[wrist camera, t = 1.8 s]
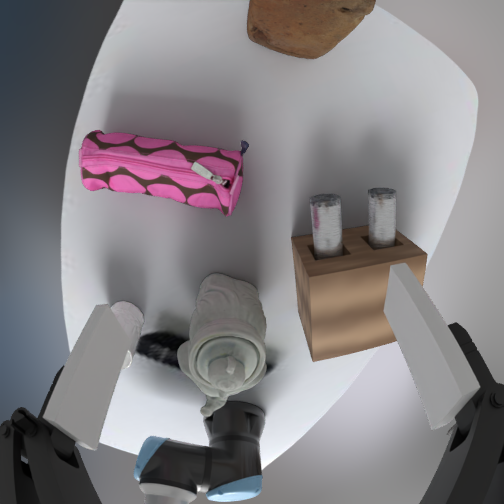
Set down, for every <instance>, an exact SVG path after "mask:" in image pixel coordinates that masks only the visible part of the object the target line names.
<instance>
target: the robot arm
mask: <svg viewBox="0 0 504 504" xmlns="http://www.w3.org/2000/svg"><path fill="white" fill-rule="evenodd" d="M384 313H385V315H386V318H387V320H388V322H389V324H390V326H391V328H392V331H393V333H394V335H395V337H396V339H397V342H398V344H399V346H400V348H401V351H402V353H403V355H404V358H405V360H406V362H407V365H408V367H409V370H410V372H411V375H412V377H413V380H414V382H415V385H416V388H417V390H418V393H419V395H420V398H421V401H422V404H423V406H424V409H425V412H426V415H427V418H428V421H429V424H430V427H431V430H435V429H437V428H439V427H442V426H444V425H446V424H448V423H449V422H450V421H451V420H452V419H453V418H454V417H455V419H456V422H457V423H456V424H455V425H454V426H453V427H452V428H451V429H450V430H449V431H448V433H447V435H449V434H450V433H451V432H452V435H451V438H450V440H449V443H448V445H447V448H446V451H445V453H444V455H443V458H442V460H441V462H440V465H439V467H438V469H437V471H436V473H435V475H434V477H433V479H432V481H431V484H430V485H429V487H428V489H427V491H426V493H425V495H424V497H423V499H422V500H421V502H420V504H504V385H503V384H500V383H499V384H498V383H496V382H495V380H494V379H493V377H492V375H491V373H490V371H489V369H488V367H487V365H486V364H485V362H484V360H483V358H482V356H481V354H480V353H479V351H477V347H476V346H475V344H474V343H473V342H472V339H471V338H470V336H469V334H468V332H467V331H466V330H465V329H464V328H463V327H462V326H461V325H459V324H458V323H453V324H450V325H447V324H446V322H445V321H444V320H443V317H442V316H441V314H440V313H439V311H438V309H437V308H436V306H435V305H434V304H433V302H432V300H431V299H430V297H429V296H428V294H427V293H426V291H425V290H424V288H423V287H422V285H421V284H420V282H419V281H418V279H417V278H416V277H415V275H414V274H413V272H412V271H411V270H410V268H409V267H408V265H407V264H406V263H401V264H395V265H391V266H390V273H389V280H388V287H387V293H386V299H385V305H384ZM130 344H131V340H130V339H129V337H128V336H127V334H126V333H125V331H124V330H123V328H122V327H121V325H120V323H119V322H118V320H117V318H116V317H115V315H114V314H113V312H112V310H111V309H110V307H109V305H108V304H102V305H96V307H95V308H94V310H93V312H92V314H91V315H90V317H89V319H88V321H87V323H86V325H85V327H84V328H83V330H82V332H81V334H80V336H79V338H78V340H77V342H76V344H75V346H74V348H73V350H72V352H71V354H70V356H69V358H68V360H67V362H66V364H65V366H63V367H62V368H61V369H60V370H59V371H58V373H57V374H56V376H55V378H54V381H53V384H52V385H51V387H50V391H49V392H48V394H47V397H46V399H45V401H44V404H43V406H42V409H41V412H40V414H39V416H38V418H36V417H35V416H34V415H33V414H31V413H30V412H29V411H27V409H25V408H23V407H20V408H18V409H17V410H15V411H14V413H13V414H12V416H11V420H10V421H9V420H6V421H4V422H3V423H2V424H1V426H0V504H102V503H101V501H100V499H99V497H98V495H97V493H96V491H95V489H94V487H93V484H92V482H91V480H90V478H89V475H88V473H87V471H86V468H85V466H84V463H83V461H82V458H81V455H80V453H79V450H78V449H77V447H76V446H75V442H77V443H78V444H80V445H81V446H83V447H85V448H88V449H91V450H95V451H96V450H97V446H98V443H99V439H100V435H101V432H102V428H103V425H104V421H105V418H106V415H107V411H108V408H109V405H110V402H111V398H112V395H113V392H114V389H115V386H116V383H117V380H118V377H119V374H120V371H121V368H122V366H123V363H124V360H125V357H126V354H127V352H128V349H129V346H130ZM203 422H204V426H205V429H206V432H207V435H208V438H209V447H208V446H201V445H196V444H191V443H186V442H181V441H176V440H172V439H170V438H161V437H156V436H150V437H148V438H147V439H146V440H145V441H144V443H143V445H142V447H141V450H140V452H139V455H138V458H137V461H136V466H135V469H134V478H135V479H137V480H139V481H140V483H139V487H140V489H141V490H142V491H143V492H144V493H145V501H144V504H189V502H191V501H193V500H194V499H196V497H197V495H196V494H197V492H204V493H206V496H207V498H208V499H209V500H214V501H222V502H228V501H239V500H244V499H249V498H252V497H254V496H257V495H258V494H259V493H260V492H261V490H262V478H263V477H262V471H261V458H260V446H259V441H260V438H261V435H262V432H263V429H264V425H265V415H264V412H263V411H262V410H261V409H260V408H259V407H257V406H255V405H252V404H249V403H245V402H235V401H231V402H226V403H225V404H224V406H222V407H221V408H219V409H217V410H215V411H214V412H213V413H212V415H211V416H208V417H206V416H204V420H203ZM21 455H22V456H23V457H25V458H26V459H28V464H26V463H25V462H23V461H21Z"/></svg>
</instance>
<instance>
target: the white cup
mask: <svg viewBox="0 0 504 504" xmlns="http://www.w3.org/2000/svg"><path fill="white" fill-rule="evenodd" d="M110 309H111V310H112V312H113V314H114V315H115V317H116V318H117V320H118V322H119V323H120V325H121V327H122V328H123V330H124V331H125V333H126V334H127V336H128V337H129V339H130V340H131V344H130V346H129V349H128V352H127V354H126V357H125V360H124V363H123V366H122V368H121V369H126V368H128V367H129V366H130V365H131V364H132V360H133V357H134V354H135V351H136V348H137V344H138V341H139V338H140V335H141V329H142V326H143V323H144V318H143V314H142V313H141V311H140V310H139V308H138V307H136V306H135V305H133V304H132V303H129V302H125V301H121V302H116V303H115V304H114V305H113V306H112V307H111V308H110Z"/></svg>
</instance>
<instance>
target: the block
mask: <svg viewBox="0 0 504 504" xmlns="http://www.w3.org/2000/svg"><path fill="white" fill-rule="evenodd" d="M375 2H376V0H250V3H249V10H248V19H247V33H248V36H249V39H250V40H252V41H253V42H256V43H258V44H260V45H262V46H265V47H267V48H269V49H272V50H275V51H277V52H280V53H283V54H287V55H291V56H295V57H299V58H306V59H315V58H318V57H320V56H323V55H325V54H326V53H328V52H329V51H330V50H332V49H333V48H334V47H335V46H336V45H337V44H338V43H339V42H340V41H341V40H343V39H344V38H345V37H346V36H348V34H349V33H350V32H352V31H353V30H354V29H355V28H356V26H357V25H358V24H359V23H360V22H361V21H362V20H363V19H364V16H365V15H368V14H370V13H371V12H372V11H373V8H374V5H375Z"/></svg>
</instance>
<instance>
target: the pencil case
mask: <svg viewBox="0 0 504 504" xmlns="http://www.w3.org/2000/svg"><path fill="white" fill-rule="evenodd" d="M241 147H242V150H241V151H227V150H223V149H219V148H213V147H205V146H191V145H188V146H182V145H180V144H179V143H177V142H175V141H171V140H162V139H153V138H145V137H141V136H137V135H132V134H127V133H109V134H104V133H103V132H102V131H100V130H95V131H92V132H90V133H89V134H88V135H86V137H85V138H84V140H83V143H82V147H81V149H79V167H81V179H82V183H83V185H84V187H85V188H87V189H88V190H90V191H95V190H99V189H103V188H108V189H110V190H112V191H117V192H127V193H142V194H146V195H151V196H159V197H164V198H172V199H174V200H176V201H178V202H181V203H184V204H187V205H190V206H195V207H200V208H217V209H219V210H220V211H221V212H222V213H223V214H224V215H225V216H229V215H232V211H233V210H234V208H235V206H236V203H237V201H238V198H239V195H240V191H241V187H242V182H243V158H242V156H243V154H244V153H245V152H246V150H247V148H248V147H249V144H248V143H247V142H246V141H243V140H241Z"/></svg>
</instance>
